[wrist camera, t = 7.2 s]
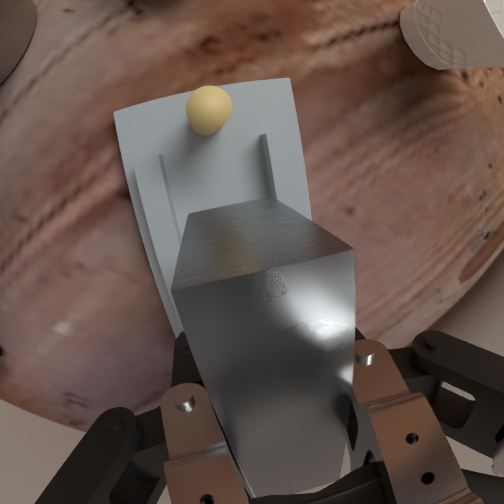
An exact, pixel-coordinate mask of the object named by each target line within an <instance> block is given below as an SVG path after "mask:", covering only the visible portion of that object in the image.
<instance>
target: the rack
mask: <svg viewBox="0 0 504 504" xmlns="http://www.w3.org/2000/svg"><path fill="white" fill-rule="evenodd" d="M113 113H114V119H115V125H116V130H117V136H118V141H119V146H120V151H121V156H122V161H123V165H124V170H125V174H126V179H127V183H128V187H129V191H130V196H131V200H132V203H133V207H134V211H135V215H136V219H137V222H138V226H139V230H140V233H141V237H142V240H143V243H144V247H145V250H146V253H147V257H148V260H149V263H150V266H151V269H152V273H153V276H154V279H155V282H156V285H157V288H158V291H159V294H160V296H161V299H162V302H163V305H164V308H165V310H166V313H167V316H168V319H169V321H170V324H171V327H172V329H173V332H174V334H175V337H176V339H177V337H178V336H179V334H180V333H181V331H184V329H183V327H182V324H181V321H180V318H179V315H178V312H177V309H176V306H175V303H174V299H173V296H172V293H171V286H172V281H173V276H174V272H175V267H176V263H177V258H178V254H179V250H180V245H181V241H182V237H183V233H184V229H185V225H186V221H187V217H188V214H189V213H193V212H198V211H202V210H207V209H212V208H216V207H221V206H226V205H231V204H236V203H241V202H246V201H251V200H256V199H261V198H267V197H274V198H276V199H277V200H279V201H281V202H282V203H284V204H285V205H287V206H289V207H290V208H292V209H294V210H295V211H297V212H298V213H300V214H302V215H303V216H305V217H306V218H308V219H309V220H311V221H312V218H311V210H310V201H309V194H308V186H307V178H306V171H305V164H304V158H303V151H302V145H301V138H300V132H299V126H298V120H297V115H296V109H295V103H294V98H293V93H292V87H291V82H290V78H279V79H268V80H258V81H250V82H242V83H235V84H228V85H222V86H216V87H215V86H204V87H201V88H198V89H197V90H195V91H190V92H185V93H181V94H176V95H172V96H168V97H164V98H160V99H156V100H152V101H148V102H145V103H141V104H138V105H134V106H131V107H128V108H125V109H121V110H118V111H115V112H113Z"/></svg>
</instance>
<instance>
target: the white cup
mask: <svg viewBox="0 0 504 504" xmlns="http://www.w3.org/2000/svg"><path fill="white" fill-rule="evenodd" d="M400 28H401V31H402V33H403V36H404V39H405V41H406V42H407V44H408V45H409V47H410V48H411V50H412V52H413V53H414V54H415V55H416V56H417V57H418V58H419V59H420V60H421V61H422V62H423V63H424V64H425V65H427V66H429V67H432V68H434V69H437V70H444V69H452V68H463V69H466V68H504V0H415V1H414V2H412V3H410V4H408V5H407V6H406V7H405V8H404V9H403V10H402V11H401V12H400Z"/></svg>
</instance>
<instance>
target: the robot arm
mask: <svg viewBox="0 0 504 504" xmlns="http://www.w3.org/2000/svg"><path fill="white" fill-rule="evenodd" d="M36 15H37V12H36V8H35V5H34V4H33V2H32V1H31V0H0V84H1V83H2V82H3V81H4V80H5V78H6V77H7V76H8V75H9V74H10V73H11V71H12V70H13V69H14V68H15V66H16V65H17V63H18V62H19V60H20V59H21V57H22V56H23V54H24V52H25V50H26V48H27V46H28V44H29V42H30V39H31V37H32V34H33V32H34V28H35V24H36ZM174 351H175V352H174V360H173V372H172V385H171V388H170V389H169V390H168V391H167V392H166V393H165V394H164V395H163V397H162V399H161V403H160V406H159V407H157V408H155V409H153V410H151V411H148V412H145V413H143V414H140V415H137V416H135V415H134V413H133V412H132V411H131V410H129V409H127V408H123V407H116V408H112V409H109V410H107V411H105V412H104V413H102V414H101V415H100V416H99V417H98V418H97V420H96V421H95V422H94V423H93V425H92V426H91V427H90V429H89V430H88V431H87V433H86V434H85V435H84V437H83V438H82V439H81V441H80V442H79V443H78V445H77V446H76V448H75V449H74V450H73V452H72V453H71V454H70V456H69V457H68V458H67V460H66V461H65V462H64V464H63V465H62V466H61V468H60V469H59V470H58V472H57V473H56V475H55V476H54V477H53V479H52V480H51V481H50V483H49V484H48V486H47V487H46V488H45V490H44V491H43V493H42V494H41V496H40V497H39V498H38V500H37V501H36V502H35V504H157V502H158V500H159V498H160V496H161V494H162V492H163V490H164V488H165V486H166V484H167V487H168V491H169V496H170V500H171V504H504V477H498V476H493V475H487V474H483V473H478V472H474V471H470V470H465V469H461V468H460V466H459V464H458V461H457V459H456V457H455V455H454V453H453V451H452V448H451V446H450V444H449V442H448V440H447V438H446V436H448V437H450V438H452V439H454V440H456V441H457V442H459V443H461V444H464V445H466V446H468V447H469V448H471V449H474V450H476V451H477V452H479V453H482V454H484V455H486V456H488V457H490V458H492V460H493V465H492V472H493V473H494V474H497V475H499V474H501V473H502V474H503V475H504V357H503V356H500V355H498V354H495V353H493V352H490V351H488V350H485V349H482V348H480V347H478V346H475V345H473V344H470V343H468V342H465V341H463V340H460V339H458V338H455V337H453V336H450V335H448V334H445V333H443V332H440V331H433V330H431V331H424V332H422V333H420V334H418V335H417V336H416V337H415V338H414V340H413V344H412V347H406V348H399V349H387V348H386V347H385V346H384V345H383V344H382V343H380V342H378V341H375V340H371V339H365V337H364V336H363V335H362V334H361V333H360V331H359V330H358V329H357V328H356V327H355V345H354V364H353V378H352V385H351V395H350V398H351V401H350V410H349V419H348V427H347V431H346V442H347V446H348V450H349V454H350V460H351V472H350V473H349V474H347V475H346V476H344V477H342V478H341V479H339V480H337V481H336V482H334V483H333V484H331V485H329V486H327V487H326V488H324V489H322V490H321V491H318V492H316V493H306V494H289V495H267V496H262V497H257V498H253V496H252V494H251V492H250V490H249V488H248V486H247V483H246V481H245V479H244V477H243V475H242V472H241V470H240V467H239V465H238V463H237V460H236V458H235V455H234V453H233V450H232V448H231V445H230V443H229V441H228V439H227V437H226V435H225V432H224V430H223V428H222V426H221V423H220V421H219V419H218V417H217V414H216V412H215V410H214V407H213V405H212V403H211V400H210V398H209V395H208V393H207V391H206V388H205V386H204V383H203V381H202V378H201V376H200V373H199V370H198V368H197V365H196V363H195V360H194V357H193V355H192V352H191V349H190V346H189V344H188V341H187V338H186V335H185V332H184V331H181V333H180V334H179V336H178V337H177V339H176V340H175V348H174ZM443 381H444V382H446V383H448V384H450V385H452V386H454V387H457V388H459V389H461V390H463V391H466V392H467V393H470V394H471V395H473V396H474V398H475V401H472V400H468V399H466V398H464V397H462V396H460V395H458V394H456V393H454V392H452V391H449V390H447V389H445V388H443V387H441V386H442V383H443ZM445 435H446V436H445Z"/></svg>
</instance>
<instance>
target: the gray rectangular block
mask: <svg viewBox="0 0 504 504" xmlns="http://www.w3.org/2000/svg"><path fill="white" fill-rule="evenodd" d="M171 293H172V296H173V299H174V303H175V306H176V309H177V312H178V315H179V318H180V321H181V324H182V327H183V329H184V332H185V335H186V338H187V341H188V344H189V346H190V349H191V352H192V355H193V357H194V360H195V363H196V365H197V368H198V370H199V373H200V376H201V378H202V381H203V383H204V386H205V388H206V391H207V393H208V395H209V398H210V400H211V403H212V405H213V407H214V410H215V412H216V414H217V417H218V419H219V421H220V423H221V426H222V428H223V430H224V432H225V435H226V437H227V439H228V441H229V443H230V445H231V447H232V450H233V452H234V454H235V456H236V458H237V460H238V462H239V464H240V466H241V468H242V470H243V472H244V474H245V476H246V477H247V480H248V482H249V484H250V485H251V487H252V489H253V491H254V493H255V495H256V497H262V496H267V495H289V494H294V493H298V492H301V491H305V490H308V489H312V488H315V487H318V486H321V485H324V484H328V483H331V482H334V481H337V480H339V478H340V473H341V467H342V461H343V455H344V449H345V442H346V431H347V427H348V419H349V410H350V401H351V398H350V395H351V385H352V378H353V364H354V345H355V311H356V281H355V249H354V248H352V247H351V246H349V245H348V244H346V243H345V242H343V241H342V240H340V239H339V238H337V237H336V236H334V235H333V234H331V233H330V232H328V231H327V230H325V229H324V228H322V227H320V226H319V225H317V224H316V223H314V222H313V221H311V220H309V219H308V218H306V217H305V216H303V215H302V214H300V213H298V212H297V211H295V210H294V209H292V208H290V207H289V206H287V205H285V204H284V203H282V202H281V201H279V200H277V199H276V198H274V197H267V198H261V199H256V200H251V201H246V202H241V203H236V204H231V205H226V206H221V207H216V208H212V209H207V210H202V211H198V212H193V213H189V214H188V217H187V221H186V225H185V229H184V233H183V237H182V241H181V245H180V250H179V254H178V258H177V263H176V267H175V272H174V276H173V281H172V286H171Z"/></svg>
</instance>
